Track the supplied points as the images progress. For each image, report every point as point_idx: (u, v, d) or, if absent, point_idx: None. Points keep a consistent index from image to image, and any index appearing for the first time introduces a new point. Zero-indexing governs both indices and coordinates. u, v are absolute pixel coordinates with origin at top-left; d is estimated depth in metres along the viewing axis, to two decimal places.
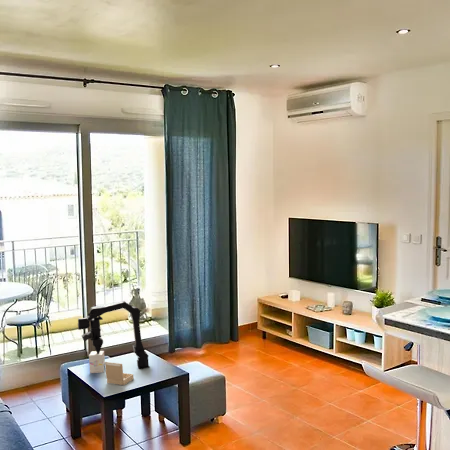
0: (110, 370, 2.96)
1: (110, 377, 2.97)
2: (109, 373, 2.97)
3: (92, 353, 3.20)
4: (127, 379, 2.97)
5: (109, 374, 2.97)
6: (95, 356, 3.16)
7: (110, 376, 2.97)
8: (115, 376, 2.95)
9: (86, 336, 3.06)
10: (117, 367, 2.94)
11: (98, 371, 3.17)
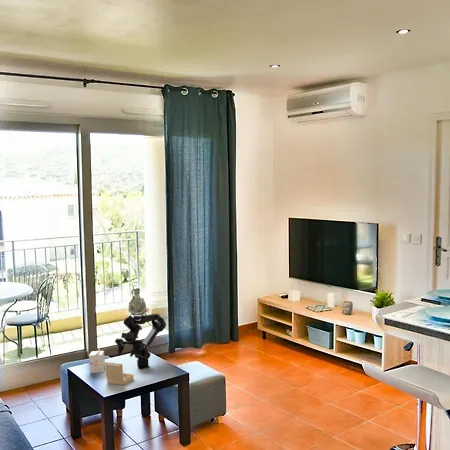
0: (110, 370, 2.96)
1: (110, 377, 2.97)
2: (109, 373, 2.97)
3: (92, 353, 3.20)
4: (127, 379, 2.97)
5: (109, 374, 2.97)
6: (95, 356, 3.16)
7: (110, 376, 2.97)
8: (115, 376, 2.95)
9: (132, 334, 3.06)
10: (117, 367, 2.94)
11: (98, 371, 3.17)
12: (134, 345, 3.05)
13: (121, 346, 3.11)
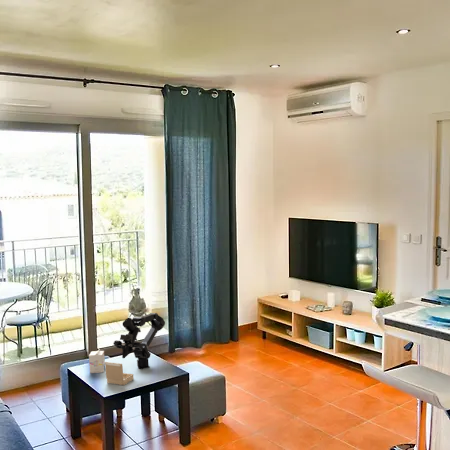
0: (110, 370, 2.96)
1: (110, 377, 2.97)
2: (109, 373, 2.97)
3: (92, 353, 3.20)
4: (127, 379, 2.97)
5: (109, 374, 2.97)
6: (95, 356, 3.16)
7: (110, 376, 2.97)
8: (115, 376, 2.95)
9: (131, 336, 3.05)
10: (117, 367, 2.94)
11: (98, 371, 3.17)
12: (127, 346, 3.05)
13: (125, 349, 3.07)
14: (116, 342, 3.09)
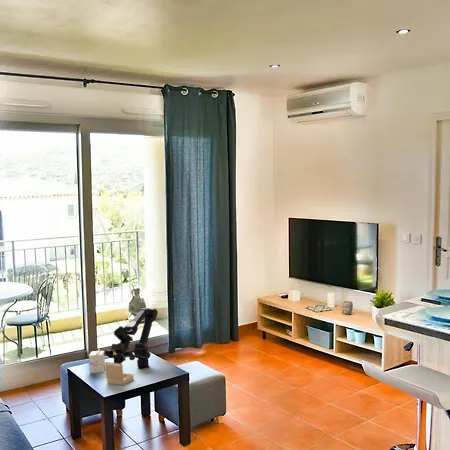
0: (110, 370, 2.96)
1: (110, 377, 2.97)
2: (109, 373, 2.97)
3: (92, 353, 3.20)
4: (127, 379, 2.97)
5: (109, 374, 2.97)
6: (95, 356, 3.16)
7: (110, 376, 2.97)
8: (115, 376, 2.95)
9: (123, 345, 2.97)
10: (117, 367, 2.94)
11: (98, 371, 3.17)
12: (119, 356, 2.97)
13: None
14: (107, 351, 3.01)
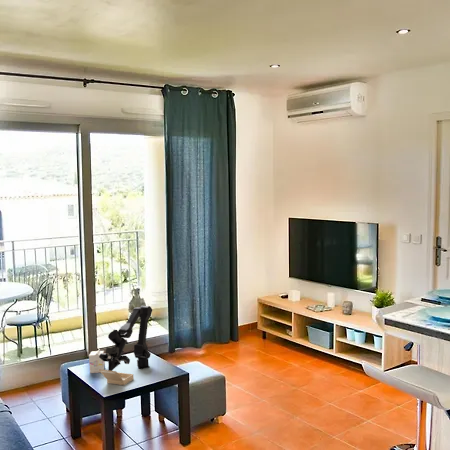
0: (107, 374, 2.93)
1: (110, 378, 2.96)
2: (107, 376, 2.95)
3: (92, 353, 3.20)
4: (127, 379, 2.97)
5: (107, 377, 2.95)
6: (95, 356, 3.16)
7: (109, 378, 2.96)
8: (114, 378, 2.94)
9: (117, 349, 2.92)
10: (112, 373, 2.90)
11: (98, 371, 3.17)
12: (113, 360, 2.92)
13: (111, 362, 2.94)
14: (102, 355, 2.97)
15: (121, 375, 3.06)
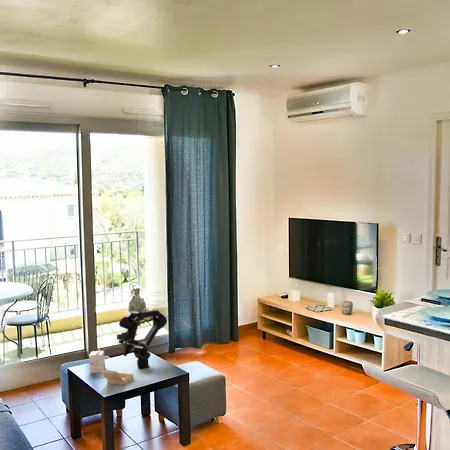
0: (107, 374, 2.93)
1: (110, 378, 2.96)
2: (107, 376, 2.95)
3: (92, 353, 3.20)
4: (127, 379, 2.97)
5: (107, 377, 2.95)
6: (95, 356, 3.16)
7: (109, 378, 2.96)
8: (114, 378, 2.94)
9: (124, 334, 3.07)
10: (112, 373, 2.90)
11: (98, 371, 3.17)
12: (125, 344, 3.09)
13: None
14: (119, 341, 3.16)
15: (121, 375, 3.06)
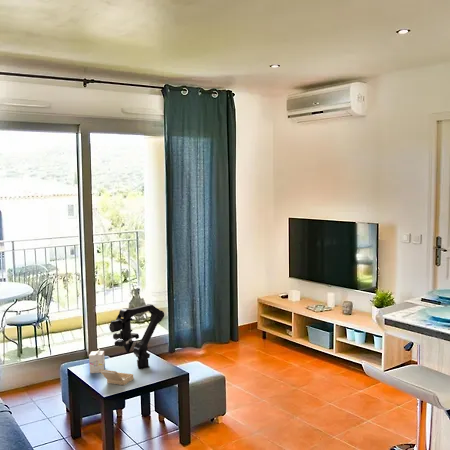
0: (107, 374, 2.93)
1: (110, 378, 2.96)
2: (107, 376, 2.95)
3: (92, 353, 3.20)
4: (127, 379, 2.97)
5: (107, 377, 2.95)
6: (95, 356, 3.16)
7: (109, 378, 2.96)
8: (114, 378, 2.94)
9: (114, 335, 3.13)
10: (112, 373, 2.90)
11: (98, 371, 3.17)
12: None
13: None
14: None
15: (121, 375, 3.06)
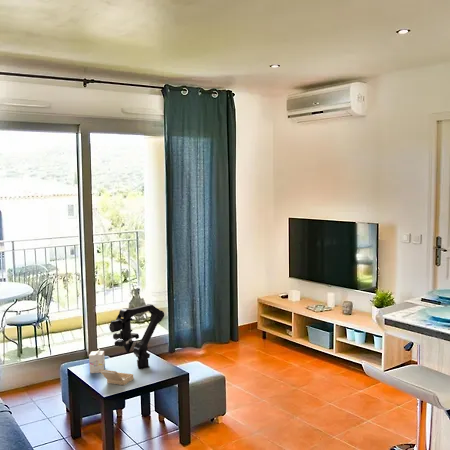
0: (107, 374, 2.93)
1: (110, 378, 2.96)
2: (107, 376, 2.95)
3: (92, 353, 3.20)
4: (127, 379, 2.97)
5: (107, 377, 2.95)
6: (95, 356, 3.16)
7: (109, 378, 2.96)
8: (114, 378, 2.94)
9: (114, 335, 3.13)
10: (112, 373, 2.90)
11: (98, 371, 3.17)
12: None
13: None
14: None
15: (121, 375, 3.06)
